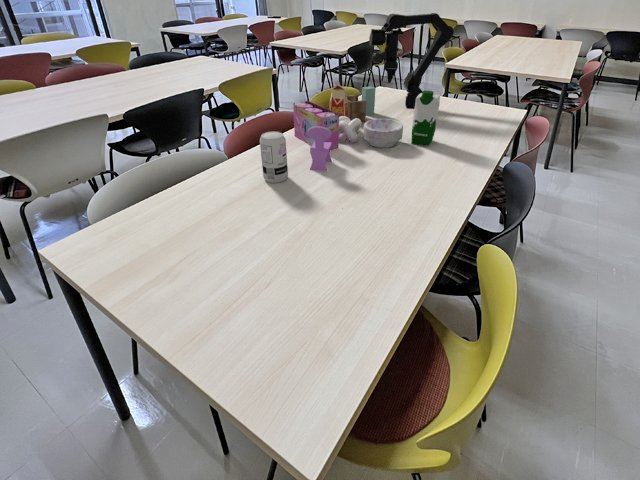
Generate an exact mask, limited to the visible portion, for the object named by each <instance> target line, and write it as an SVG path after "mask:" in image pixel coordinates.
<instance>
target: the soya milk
mask: <svg viewBox="0 0 640 480" xmlns="http://www.w3.org/2000/svg"><path fill="white" fill-rule="evenodd" d="M422 91H423V92H422V93H420V94H419V95H418V96H417V97H416V102H415V108H413V117H412V127H411V141H410V142H411V143H410V144H411V145H419V146H426V147H429V146H431V143H432V141H433V139H434V136H435V133H436V128H437V123H438V117H439V109H440V101H441V100H440V99H441V94H434V91H432V90H422Z"/></svg>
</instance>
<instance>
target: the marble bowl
mask: <svg viewBox="0 0 640 480" xmlns="http://www.w3.org/2000/svg"><path fill="white" fill-rule="evenodd" d="M403 133H404V124H403V123H402V122H400V121H398V120H395V119H392V118H374V119H373V118H372V119H369V120H368V121H367V120H366V121H365V122H364V124H363V138H364V139H365V140H366V141H368V143H369V145H371V146H373V147H375V148H381V149H384V148H385V149H386V148H390V147H393V146H394V145H396V143H397V142H400V140H402V139H403Z"/></svg>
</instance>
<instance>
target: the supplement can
mask: <svg viewBox="0 0 640 480" xmlns="http://www.w3.org/2000/svg"><path fill="white" fill-rule="evenodd" d="M286 141H287V140H286V137H285V136H284V133H282V132H281V131H277V130H276V131H275V130H274V131H266V132H263V133H262V134H261V135H260V138H259V148H260V149H259V150H260V156H261V158H260V159H261V165H262V166H261V167H262V175H263V179H264V180H265V181H266V182H268V183H271V184H279V183H282V182H285V181H286V179H288V177H289V169H288V154H287V142H286Z"/></svg>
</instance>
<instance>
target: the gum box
mask: <svg viewBox="0 0 640 480" xmlns="http://www.w3.org/2000/svg"><path fill="white" fill-rule="evenodd" d="M292 105H293V106H292V107H293V125H294V126H293V127H294V129H293V131H294V137H296V138H298V139H299V140H301V141H303V142H304V143H306V144H307V145H309V146H310V147H311V146H312V145H313V143H314V141H315V140H313V139H312V138H311V137H309V136H308V129H309V128H311V127H315V126H319V127H325V128H327V129H329V130H330V131H331V133H332V134H331V137H330V138H329V139H328V140H326V141H325V142H332V148H331V150H330V152H332V151H334V150H338V149H339V145H340V144H339V143H340V142H339V133H340V132H339V114H337V113H336V112H333V111H331V110H329V108H325V107H323V106H322V105H319V104H316V103H314V102H313V101H310V100H306V101H304V102H303V103H301V102H299V103H297V104H296V103H295V102H294V103H293V104H292Z"/></svg>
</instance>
